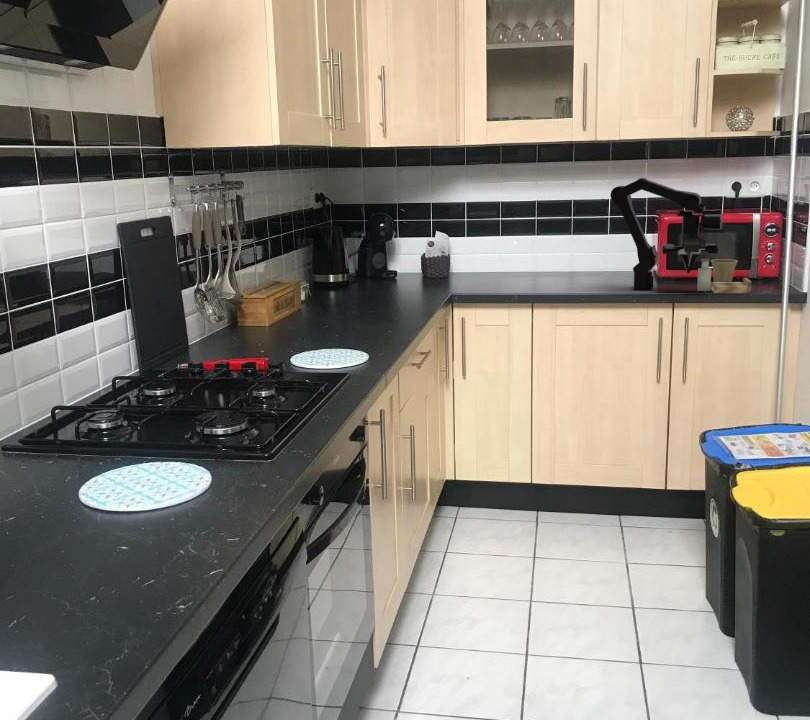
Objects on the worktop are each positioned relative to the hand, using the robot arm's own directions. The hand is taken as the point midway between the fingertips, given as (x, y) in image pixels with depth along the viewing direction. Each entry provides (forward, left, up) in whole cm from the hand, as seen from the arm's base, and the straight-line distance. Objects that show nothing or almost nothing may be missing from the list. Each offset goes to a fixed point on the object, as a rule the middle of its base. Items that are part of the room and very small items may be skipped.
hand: (688, 272), depth 300 cm
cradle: (+14, 0, -6) cm, 16 cm away
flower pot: (+15, +16, -7) cm, 23 cm away
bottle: (+6, 0, -7) cm, 9 cm away
